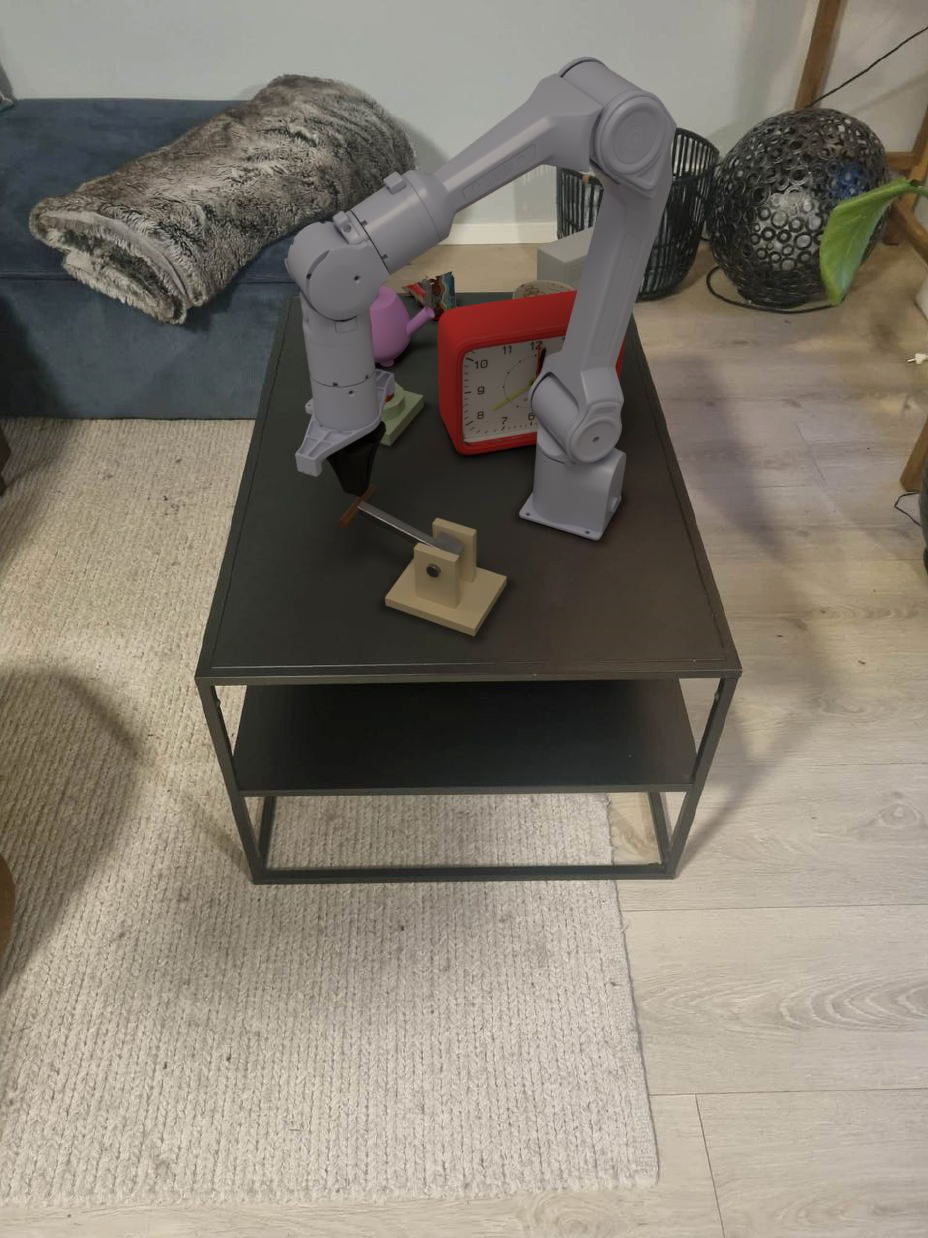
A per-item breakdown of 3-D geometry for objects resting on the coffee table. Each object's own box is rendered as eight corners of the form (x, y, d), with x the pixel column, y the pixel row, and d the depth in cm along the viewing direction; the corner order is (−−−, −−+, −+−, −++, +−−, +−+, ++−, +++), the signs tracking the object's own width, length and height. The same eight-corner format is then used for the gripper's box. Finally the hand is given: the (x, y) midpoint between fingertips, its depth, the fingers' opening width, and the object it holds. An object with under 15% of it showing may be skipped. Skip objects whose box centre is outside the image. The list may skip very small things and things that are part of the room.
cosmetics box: (589, 293, 137) (594, 222, 129) (618, 311, 133) (626, 239, 126) (533, 316, 133) (535, 244, 125) (562, 335, 129) (566, 262, 122)
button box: (423, 406, 118) (423, 382, 115) (390, 446, 113) (388, 422, 110) (368, 391, 120) (366, 367, 118) (333, 429, 115) (330, 405, 112)
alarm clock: (435, 416, 117) (432, 300, 105) (585, 392, 120) (598, 276, 108) (455, 463, 110) (454, 344, 99) (613, 436, 114) (630, 318, 102)
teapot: (339, 326, 131) (332, 263, 124) (443, 338, 129) (442, 274, 122) (316, 367, 124) (308, 302, 117) (426, 379, 122) (424, 314, 115)
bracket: (385, 605, 95) (380, 549, 89) (420, 556, 100) (418, 500, 94) (474, 637, 92) (475, 581, 86) (506, 584, 97) (509, 528, 91)
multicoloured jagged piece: (393, 241, 134) (430, 231, 135) (399, 288, 139) (434, 277, 140) (427, 278, 126) (466, 266, 128) (432, 325, 132) (469, 314, 133)
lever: (335, 529, 91) (338, 513, 90) (365, 494, 95) (369, 477, 93) (442, 586, 90) (447, 571, 88) (468, 547, 94) (474, 532, 92)
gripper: (344, 319, 86) (356, 438, 96) (256, 401, 78) (280, 523, 88) (411, 336, 84) (417, 456, 94) (329, 423, 75) (345, 545, 86)
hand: (355, 490), depth 91 cm, fingers closed
